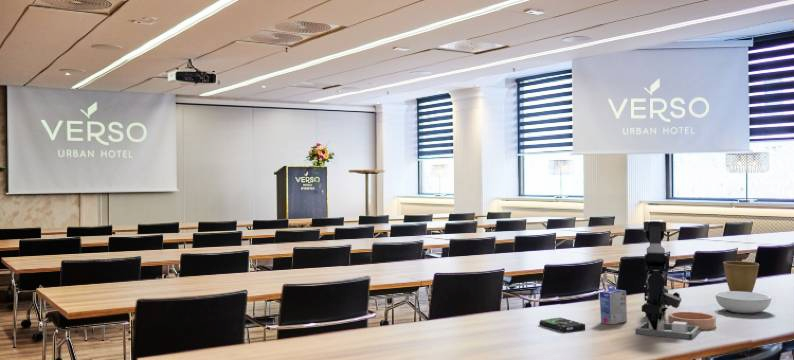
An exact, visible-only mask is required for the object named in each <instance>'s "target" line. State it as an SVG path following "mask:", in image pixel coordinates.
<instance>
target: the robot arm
mask: <svg viewBox="0 0 794 360" xmlns="http://www.w3.org/2000/svg"><path fill="white" fill-rule="evenodd" d="M644 232H645V238H646V239H647V242H649V246H648V247H646V253H645V254H644V271H647V278H646V281H645V285H644V289H643V290H644V295H643V296H644V297H643V299H644V302H645V303H644V304H642V305H641V312H642V313H645V317H646V318H647V319H648V322H649V321H650V323H651V326H652V328H653V330H656V329H657V324H658V320H663V317H665V316H666V313H667V312H666V311H667V310H668V309H669V307H670V306H671V307H672V308H674V309H678V308H679V307H680V305H681V302H682V297H681V296H680V293H678V292H674V293H669V289H667V288H668V287H667V286H665V284H666V281H665V272H668V270H670V263H669V260H670V259H669V256H668V255H667V254H665V253H666V252H665V251H666V250H665V248H664V247H663V246H662V242H663V239H664V238H665V233H666V232H667V222H666V221H664V220H663V219H646V221H643V233H644Z"/></svg>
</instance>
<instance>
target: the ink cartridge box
mask: <svg viewBox="0 0 794 360" xmlns="http://www.w3.org/2000/svg"><path fill="white" fill-rule="evenodd" d="M606 287H607V289H608V290H604V291H599V303H600V304H599V307H600V323H601V324H606V325H614V324H615V325H616V324H620V323H621V324H622V323H627V321H628V316H627V315H628V314H627V313H628V311H627V309H628V308H627V291H626V290H625V289H624V290H623V289H616V288H615V285H614V284H613V283H612V284H606ZM610 287H611V288H610Z"/></svg>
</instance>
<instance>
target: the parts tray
mask: <svg viewBox="0 0 794 360" xmlns="http://www.w3.org/2000/svg"><path fill="white" fill-rule="evenodd" d="M665 329H666V330H668V331H666V330H665ZM670 330H671V331H670ZM700 332H701V329H700V326H690V325H687V333H681V332H672V324H669V323H666V322H664V331H661V330H651V329H649V321H644V322H643V323H641V324H640V325H639V326H638V327H636V328H635V334H637V335H645V336H657V337H664V336H666V338H674V337H675V339H684V340H693V339H695V337H696V336H697V335H698V334H699V333H700Z"/></svg>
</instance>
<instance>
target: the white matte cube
mask: <svg viewBox="0 0 794 360" xmlns="http://www.w3.org/2000/svg"><path fill="white" fill-rule="evenodd" d="M648 322H649V327H648V329H651V330H653V328H652V326H651V323H650V321H649V320H648ZM664 323H665V319H661V320H658V324H657V329H656V330H661V331H665V329H664Z"/></svg>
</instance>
